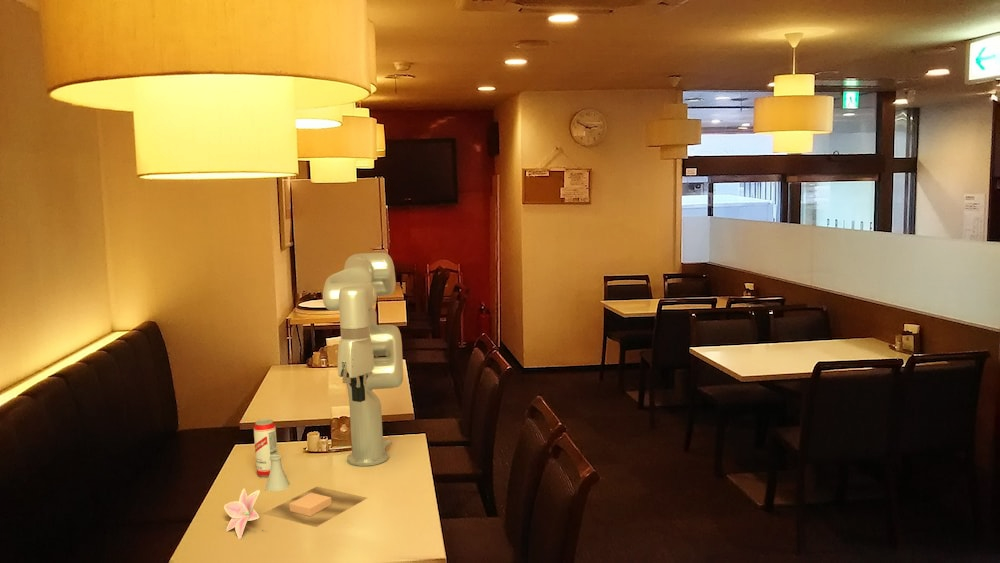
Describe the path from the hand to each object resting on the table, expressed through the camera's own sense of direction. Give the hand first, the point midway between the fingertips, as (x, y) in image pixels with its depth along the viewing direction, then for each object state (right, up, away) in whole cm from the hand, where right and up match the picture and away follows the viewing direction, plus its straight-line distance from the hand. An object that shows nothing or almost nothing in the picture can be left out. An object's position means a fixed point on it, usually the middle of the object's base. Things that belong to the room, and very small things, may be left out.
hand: (358, 400), depth 219 cm
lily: (-26, -30, -14) cm, 42 cm away
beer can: (-31, -25, +23) cm, 46 cm away
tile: (-10, -26, -2) cm, 27 cm away
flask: (-24, -27, +10) cm, 38 cm away
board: (-10, -28, -4) cm, 30 cm away
